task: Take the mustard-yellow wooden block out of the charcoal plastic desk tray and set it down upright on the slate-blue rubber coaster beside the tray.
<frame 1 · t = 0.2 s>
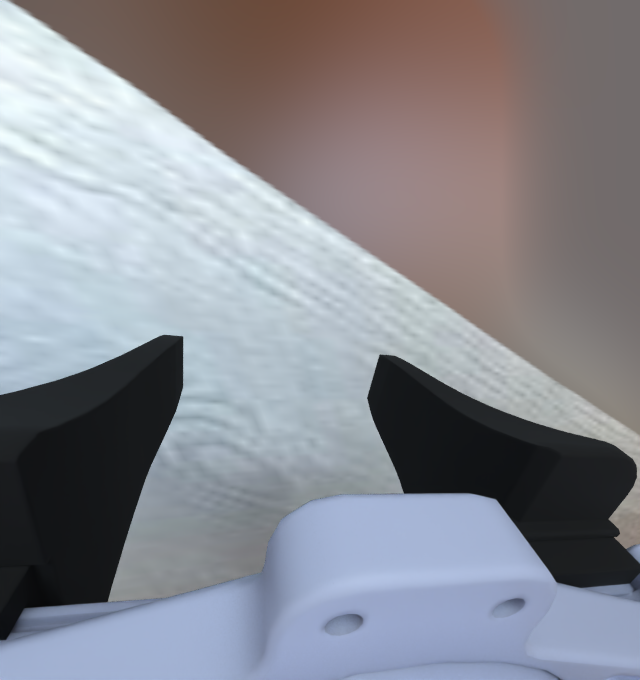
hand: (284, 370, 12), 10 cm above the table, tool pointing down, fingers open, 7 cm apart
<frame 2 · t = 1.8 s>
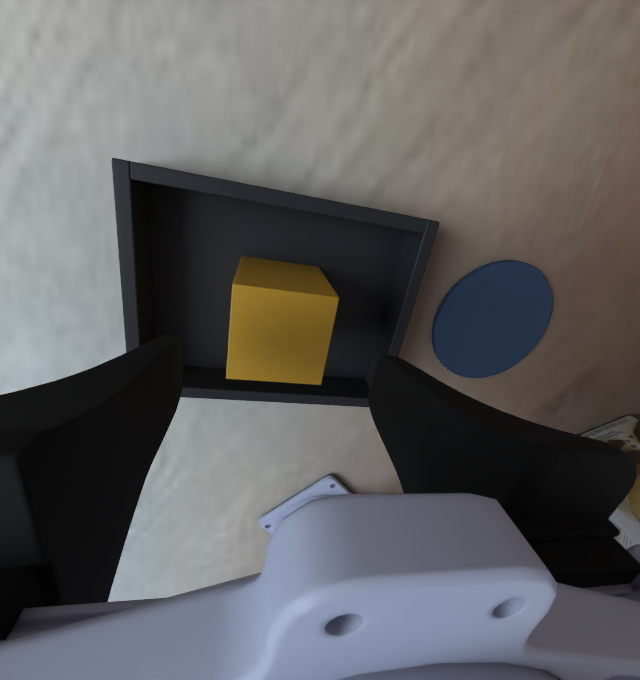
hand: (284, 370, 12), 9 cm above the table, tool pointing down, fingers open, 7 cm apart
coaster: (490, 322, 23), on the table
coffee box: (582, 450, 32), on the table
block: (276, 297, 19), resting on tray
tray: (276, 295, 20), on the table
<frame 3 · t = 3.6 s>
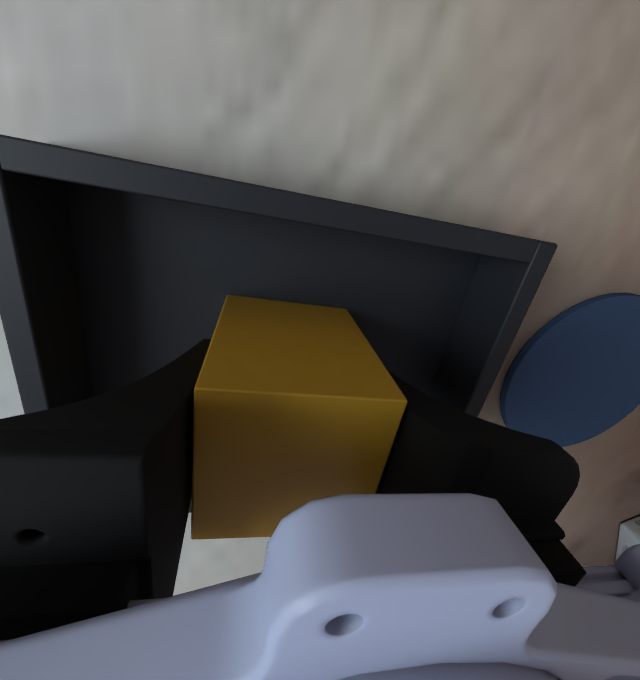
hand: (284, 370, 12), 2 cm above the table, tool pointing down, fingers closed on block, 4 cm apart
coaster: (581, 376, 16), on the table
block: (281, 354, 13), resting on tray, touching gripper
tray: (282, 350, 13), on the table
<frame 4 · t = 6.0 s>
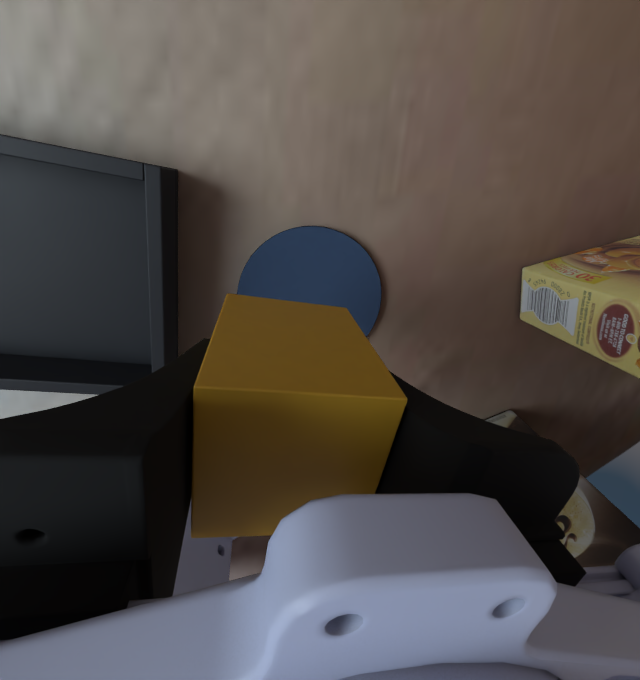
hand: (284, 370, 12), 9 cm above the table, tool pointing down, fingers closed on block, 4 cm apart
coaster: (310, 301, 20), on the table
coffee box: (465, 449, 29), on the table
block: (281, 353, 13), point 8 cm above the table, touching gripper
candy box: (574, 275, 23), on the table
tray: (21, 264, 17), on the table
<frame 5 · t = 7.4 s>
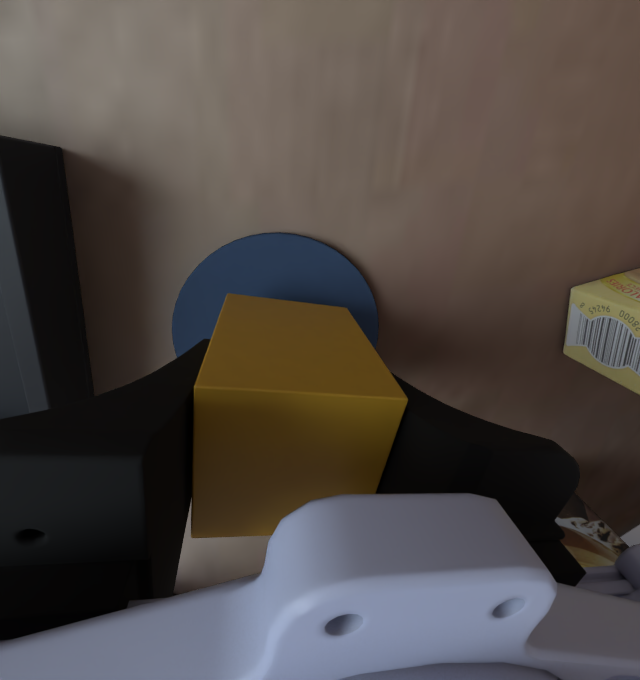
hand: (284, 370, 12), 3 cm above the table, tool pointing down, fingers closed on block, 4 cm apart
coaster: (280, 336, 14), on the table
coffee box: (484, 508, 23), on the table
block: (281, 353, 13), point 2 cm above the table, touching gripper
candy box: (637, 296, 17), on the table
when the fingers open (2 cm above the table, at t = 8.4 s): block stays where it is, resting on coaster.
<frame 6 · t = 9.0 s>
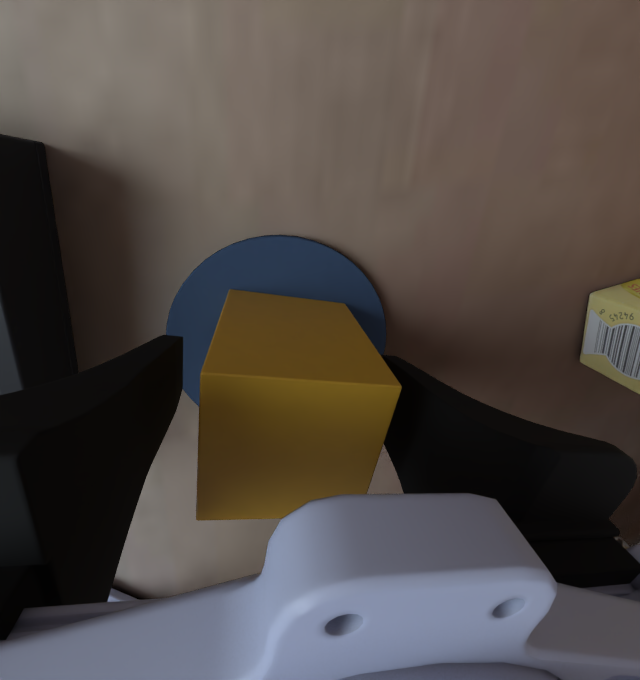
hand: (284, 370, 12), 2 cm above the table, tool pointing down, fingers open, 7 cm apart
coaster: (281, 345, 14), on the table
block: (282, 347, 13), resting on coaster
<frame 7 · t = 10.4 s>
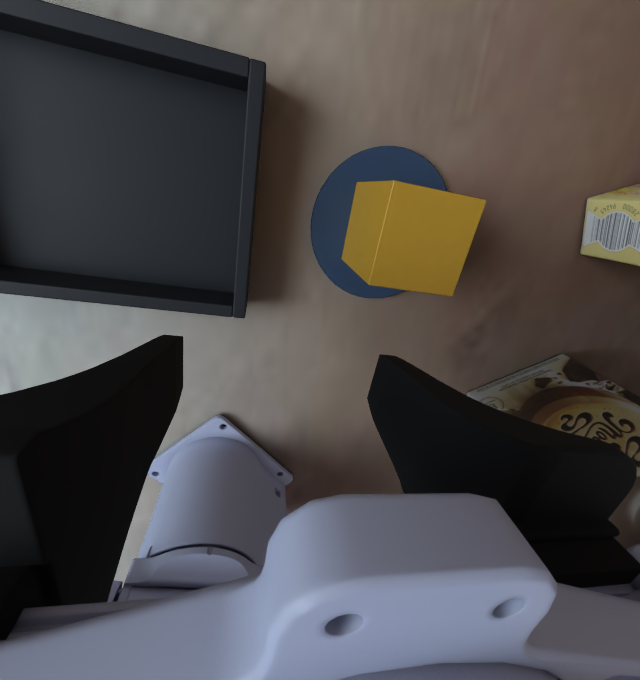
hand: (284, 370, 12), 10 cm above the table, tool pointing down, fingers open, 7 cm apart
coaster: (380, 228, 20), on the table
coffee box: (514, 396, 29), on the table
block: (382, 228, 20), resting on coaster
candy box: (635, 209, 23), on the table
tray: (108, 180, 17), on the table
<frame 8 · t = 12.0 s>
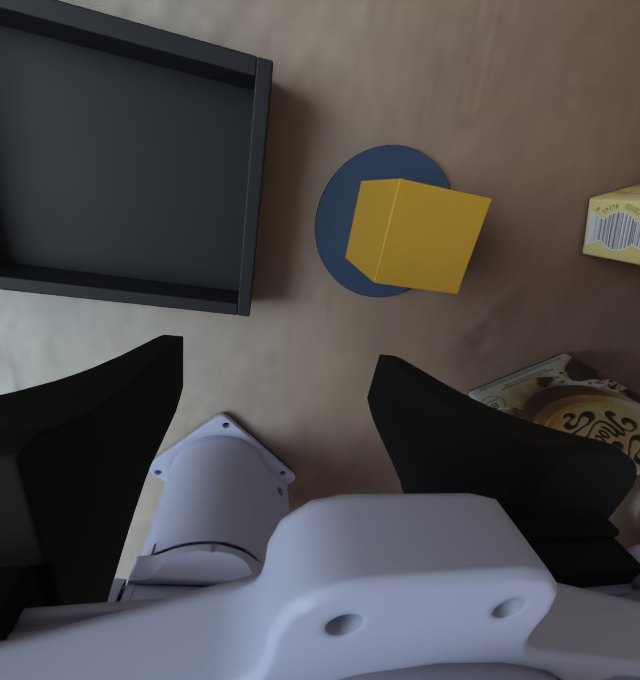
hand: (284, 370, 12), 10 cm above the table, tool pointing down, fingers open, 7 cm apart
coaster: (384, 227, 20), on the table
coffee box: (516, 396, 29), on the table
block: (386, 227, 20), resting on coaster
candy box: (637, 209, 23), on the table
tray: (114, 178, 17), on the table
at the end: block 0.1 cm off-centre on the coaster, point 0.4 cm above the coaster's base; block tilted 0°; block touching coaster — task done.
